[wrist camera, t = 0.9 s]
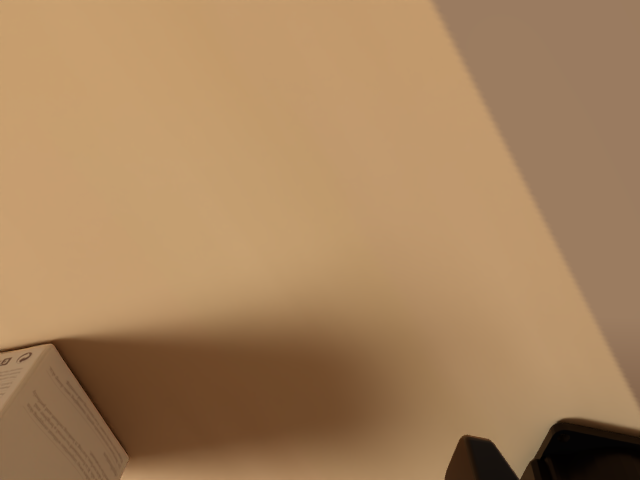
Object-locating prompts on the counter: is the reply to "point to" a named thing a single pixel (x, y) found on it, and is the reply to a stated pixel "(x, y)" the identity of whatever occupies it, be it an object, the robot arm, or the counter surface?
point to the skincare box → (51, 422)
